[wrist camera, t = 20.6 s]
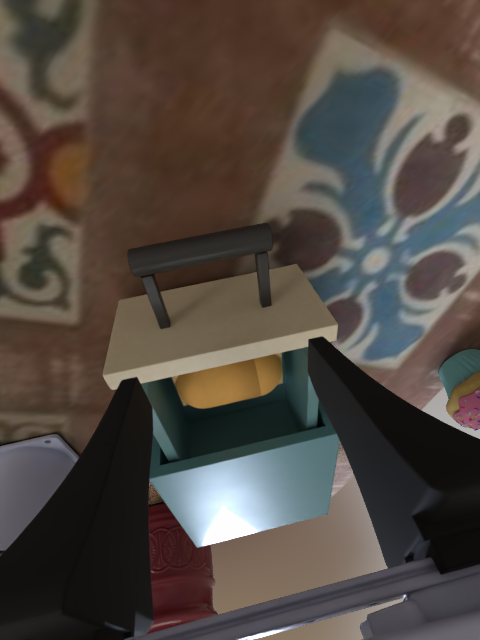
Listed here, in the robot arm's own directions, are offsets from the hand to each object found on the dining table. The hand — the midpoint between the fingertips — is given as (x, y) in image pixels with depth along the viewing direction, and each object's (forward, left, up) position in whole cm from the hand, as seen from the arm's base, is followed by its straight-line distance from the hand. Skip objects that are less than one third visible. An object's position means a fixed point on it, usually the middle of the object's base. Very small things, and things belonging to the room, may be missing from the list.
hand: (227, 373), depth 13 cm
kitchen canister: (-14, -41, -11) cm, 44 cm away
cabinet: (0, -19, -10) cm, 21 cm away
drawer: (0, -6, -10) cm, 11 cm away
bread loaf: (0, -7, -8) cm, 11 cm away
